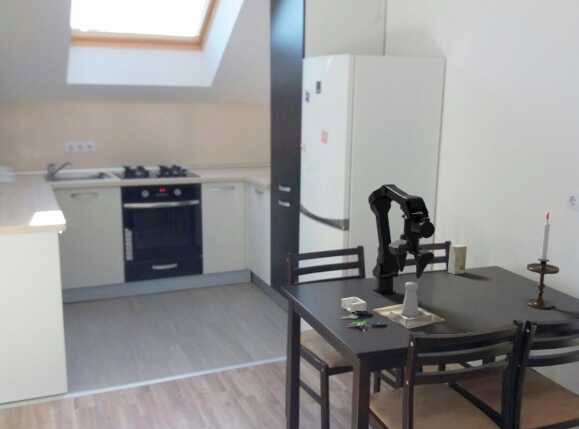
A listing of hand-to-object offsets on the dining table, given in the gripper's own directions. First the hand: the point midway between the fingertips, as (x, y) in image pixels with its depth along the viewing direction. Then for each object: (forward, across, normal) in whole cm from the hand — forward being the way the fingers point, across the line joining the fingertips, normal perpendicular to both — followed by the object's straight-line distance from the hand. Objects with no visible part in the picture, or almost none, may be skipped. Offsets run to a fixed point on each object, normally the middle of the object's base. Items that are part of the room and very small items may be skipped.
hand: (409, 274), depth 213 cm
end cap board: (+12, +8, -6) cm, 15 cm away
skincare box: (+12, -26, +48) cm, 56 cm away
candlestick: (+12, +20, +45) cm, 51 cm away
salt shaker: (+12, +12, -9) cm, 19 cm away
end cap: (+12, -7, -19) cm, 24 cm away
